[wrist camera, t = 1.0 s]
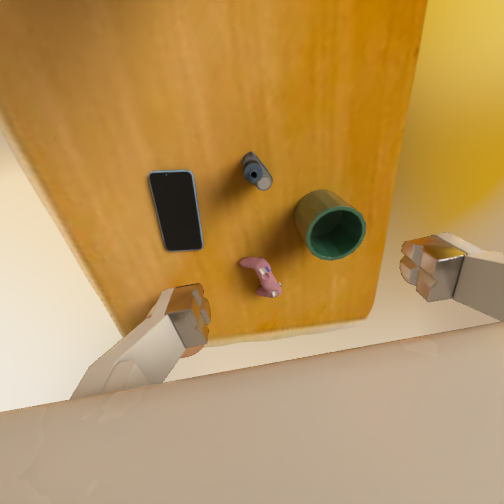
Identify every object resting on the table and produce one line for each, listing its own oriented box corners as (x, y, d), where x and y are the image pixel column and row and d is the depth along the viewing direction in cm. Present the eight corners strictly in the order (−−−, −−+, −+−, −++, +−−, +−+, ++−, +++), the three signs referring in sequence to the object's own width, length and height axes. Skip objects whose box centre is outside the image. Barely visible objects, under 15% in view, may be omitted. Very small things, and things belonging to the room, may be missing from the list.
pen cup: (291, 195, 42) (303, 213, 34) (342, 184, 42) (367, 200, 34) (297, 240, 47) (309, 265, 39) (343, 230, 46) (364, 253, 39)
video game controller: (271, 282, 54) (290, 295, 48) (255, 294, 52) (272, 309, 46) (253, 247, 49) (271, 257, 43) (236, 260, 48) (252, 272, 42)
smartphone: (166, 252, 46) (146, 172, 38) (167, 250, 46) (147, 170, 39) (204, 250, 46) (192, 170, 38) (205, 248, 47) (193, 169, 39)
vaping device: (250, 147, 38) (255, 159, 28) (270, 173, 40) (282, 193, 30) (238, 158, 39) (239, 174, 28) (258, 183, 41) (266, 206, 30)
